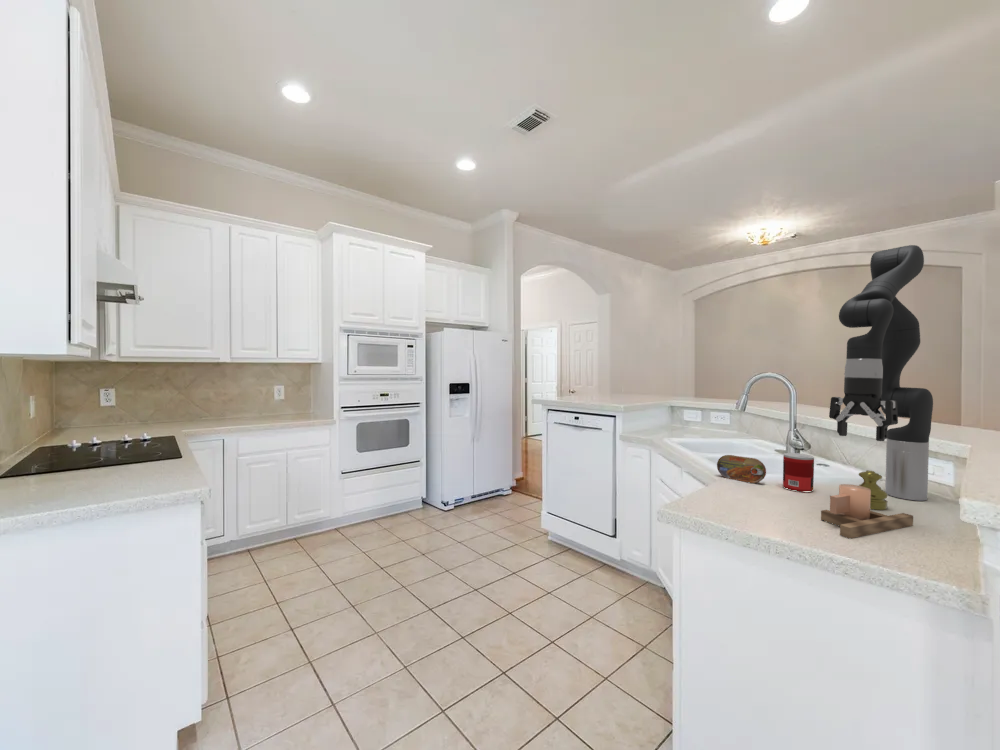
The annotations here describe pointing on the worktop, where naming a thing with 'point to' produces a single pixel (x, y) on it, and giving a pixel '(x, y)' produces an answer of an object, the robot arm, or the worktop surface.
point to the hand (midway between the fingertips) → (860, 438)
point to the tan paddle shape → (852, 502)
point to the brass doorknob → (874, 490)
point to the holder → (867, 523)
